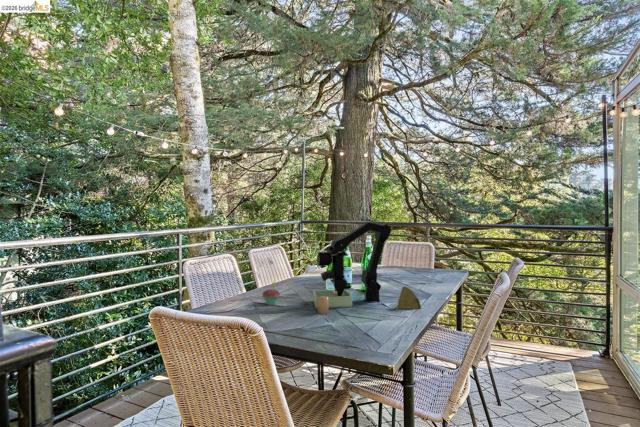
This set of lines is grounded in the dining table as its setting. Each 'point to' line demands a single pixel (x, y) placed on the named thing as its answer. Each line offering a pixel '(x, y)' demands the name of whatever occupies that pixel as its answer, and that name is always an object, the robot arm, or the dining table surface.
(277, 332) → the dining table surface
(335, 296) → the maple cube
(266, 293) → the cupcake
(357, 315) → the dining table surface
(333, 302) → the tote
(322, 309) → the tan capsule
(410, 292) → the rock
